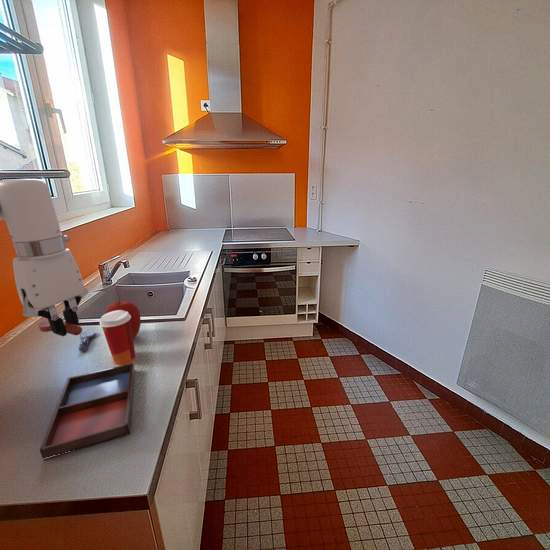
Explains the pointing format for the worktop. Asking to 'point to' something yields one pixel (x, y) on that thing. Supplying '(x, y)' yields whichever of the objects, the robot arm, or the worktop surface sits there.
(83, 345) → the blue spoon
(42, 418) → the worktop surface
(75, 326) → the red spoon
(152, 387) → the worktop surface
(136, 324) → the apple
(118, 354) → the paper cup
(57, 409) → the tray
